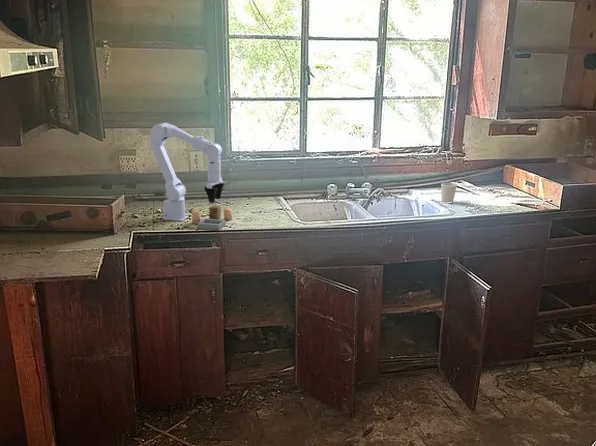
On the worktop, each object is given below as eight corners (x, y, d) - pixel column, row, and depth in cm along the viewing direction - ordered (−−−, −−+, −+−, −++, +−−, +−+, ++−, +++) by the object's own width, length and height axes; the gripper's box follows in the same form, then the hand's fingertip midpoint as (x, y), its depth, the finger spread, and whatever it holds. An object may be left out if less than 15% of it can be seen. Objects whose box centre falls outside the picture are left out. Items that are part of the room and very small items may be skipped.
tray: (197, 228, 250) (197, 223, 250) (204, 223, 258) (204, 218, 257) (219, 230, 248) (219, 225, 248) (225, 225, 256) (225, 220, 255)
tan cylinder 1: (191, 223, 258) (190, 212, 256) (194, 221, 261) (193, 210, 259) (198, 224, 257) (198, 213, 255) (201, 222, 260) (201, 211, 259)
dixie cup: (438, 203, 301) (440, 185, 298) (439, 200, 308) (441, 182, 306) (455, 205, 298) (456, 186, 296) (455, 201, 306) (457, 183, 303)
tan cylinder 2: (223, 220, 263) (222, 209, 262) (225, 218, 267) (225, 208, 265) (230, 221, 263) (230, 210, 261) (233, 218, 266) (232, 208, 265)
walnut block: (209, 220, 264) (209, 207, 262) (212, 217, 267) (212, 205, 266) (217, 220, 263) (217, 208, 261) (220, 218, 267) (220, 206, 265)
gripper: (217, 174, 248) (217, 205, 251) (228, 168, 261) (228, 197, 265) (201, 173, 249) (202, 203, 253) (213, 167, 263) (213, 196, 266)
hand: (214, 200), depth 259 cm, fingers open, 7 cm apart
